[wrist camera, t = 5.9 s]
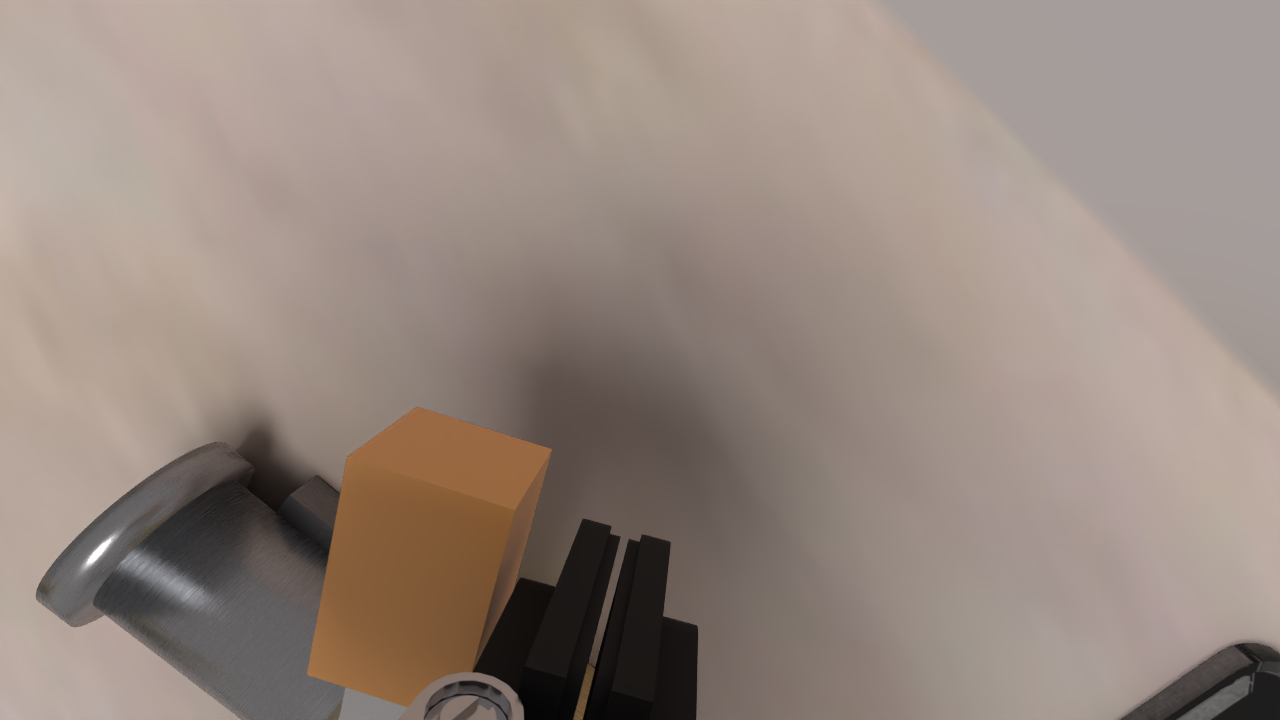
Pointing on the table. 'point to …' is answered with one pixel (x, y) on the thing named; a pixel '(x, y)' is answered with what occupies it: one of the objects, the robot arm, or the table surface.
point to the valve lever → (421, 558)
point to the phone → (1222, 689)
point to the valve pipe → (214, 583)
